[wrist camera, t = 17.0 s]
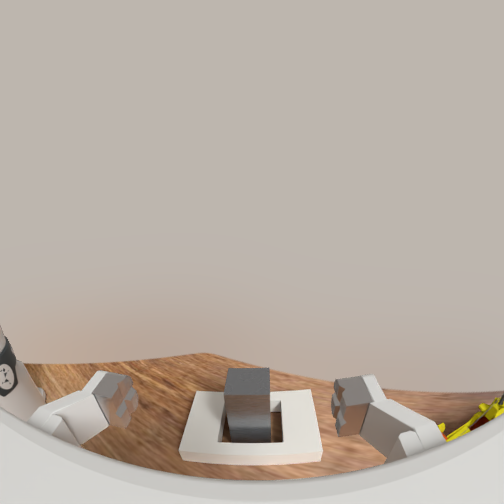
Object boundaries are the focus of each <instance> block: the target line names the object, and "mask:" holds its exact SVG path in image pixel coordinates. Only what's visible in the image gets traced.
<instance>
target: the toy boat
mask: <svg viewBox="0 0 504 504" xmlns="http://www.w3.org/2000/svg"><path fill="white" fill-rule="evenodd" d="M479 409H480V410H481V411H482V412H477V413H476V414H475V415H474V416H473V417H472V418H471V419H470V420H469V421H468V422H467V423H466V424H464V425H463V426H461V427H460V428H458V429H457V430H455V431H454V432H452V433H451V434H449V435H448V436H447V437H446V436H445V435H444V434H443V431H444V429H445V424H444V423H442V424H440V425H438V428H439V430H440V432H441V433H442V435H443V437H444V438H445V440H446V442H449V441H451V440H453V439H456V438H458V437H460V436H462V435H464V434H466V433H468V432H470V431H472V430H474V429H476V428H478V427H480V426H482V425H484V424H485V423H487V422H489V421H491V420H493V419H494V418H496V417H498V416H499V415H501V414H502V413H504V393H503V395H502V397H500V398H496V399H495V400H494V401H493V403H492V404H491V405H487V404H484V403H482V404H480V405H479Z"/></svg>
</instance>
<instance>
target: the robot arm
mask: <svg viewBox="0 0 504 504" xmlns="http://www.w3.org/2000/svg"><path fill="white" fill-rule="evenodd" d="M132 385H133V381H132V379H131V377H130V376H127V375H122V374H117V373H112V372H106V371H102V370H100V371H97V372H96V373H95V375H94V376H93V377H92V378H91V380H90V381H89V382H88V383H87V385H86V386H85V387H84V388H83V390H82V391H76V392H74V393H72V394H69V395H67V396H65V397H62V398H60V399H57V400H55V401H52V402H50V403H48V404H46V403H45V398H46V393H45V392H44V390H43V389H42V388H39V387H37V386H36V385H35V383H34V381H33V380H32V378H31V376H30V375H29V373H28V371H27V369H26V368H25V366H24V364H23V363H22V362H21V361H19V360H16V357H15V355H14V353H13V349H12V347H11V345H10V343H9V341H8V339H7V338H6V337H5V336H4V334H3V331H2V329H1V326H0V504H504V413H502V414H501V415H499V416H498V417H496V418H494V419H493V420H491V421H489V422H487V423H485V424H484V425H482V426H480V427H478V428H476V429H474V430H472V431H470V432H468V433H466V434H464V435H462V436H460V437H458V438H456V439H453V440H451V441H449V442H446V440H445V438H444V437H443V435H442V433H441V432H440V430H439V428H438V426H437V425H436V423H435V422H434V421H432V420H430V419H428V418H426V417H424V416H422V415H420V414H418V413H416V412H414V411H412V410H410V409H408V408H406V407H404V406H403V405H401V404H399V403H397V402H395V401H393V400H391V399H386V397H385V395H384V393H383V391H382V389H381V387H380V386H379V384H378V382H377V380H376V378H375V376H374V375H373V374H368V375H362V376H358V377H351V378H343V379H336V380H335V382H334V390H335V393H334V394H333V395H332V400H331V409H332V414H333V417H334V418H335V419H336V424H335V426H336V430H337V434H338V437H343V436H350V435H356V434H360V436H361V437H362V438H364V439H365V440H366V441H367V442H368V443H370V444H371V445H372V446H373V447H374V448H376V449H377V450H378V451H379V452H380V453H382V454H383V455H384V456H385V457H387V459H386V461H385V463H384V464H382V465H378V466H374V467H370V468H366V469H361V470H357V471H351V472H346V473H340V474H334V475H328V476H320V477H312V478H301V479H288V480H227V479H214V478H204V477H195V476H187V475H181V474H175V473H169V472H164V471H159V470H154V469H149V468H145V467H141V466H137V465H133V464H129V463H125V462H122V461H118V460H115V459H112V458H109V457H106V456H103V455H100V454H97V453H94V452H91V451H88V450H86V449H83V448H82V447H81V446H80V445H82V444H83V443H85V442H86V441H88V440H89V439H91V438H92V437H94V436H95V435H97V434H98V433H99V432H101V431H102V430H104V429H105V428H107V427H108V426H109V425H112V426H117V427H121V428H127V426H128V424H129V422H130V420H131V415H130V414H131V413H133V412H134V411H136V408H137V406H138V395H137V392H136V390H135V389H134V388H133V387H132Z"/></svg>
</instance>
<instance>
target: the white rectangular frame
mask: <svg viewBox="0 0 504 504" xmlns="http://www.w3.org/2000/svg"><path fill="white" fill-rule="evenodd" d="M270 412H281V424H282V441H283V442H281V443H223V442H222V436H223V430H224V424H225V417H226V407H225V401H224V392H208V391H197V392H196V395H195V398H194V401H193V405H192V408H191V411H190V414H189V418H188V421H187V424H186V427H185V431H184V434H183V437H182V440H181V444H180V447H179V453H180V455H181V457H182V459H183V460H184V461H192V462H201V463H212V464H227V465H282V464H297V463H308V462H317V461H321V457H322V453H323V449H322V444H321V438H320V433H319V428H318V423H317V418H316V413H315V408H314V403H313V398H312V394H311V389H309V390H296V391H279V392H270Z"/></svg>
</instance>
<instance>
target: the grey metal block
mask: <svg viewBox="0 0 504 504" xmlns="http://www.w3.org/2000/svg"><path fill="white" fill-rule="evenodd" d="M224 401H225V407H226V413H227V419H228V424H229V430H230V435H231V441H232V443H271V419H270V372H269V368H228V374H227V379H226V384H225V390H224Z"/></svg>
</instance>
